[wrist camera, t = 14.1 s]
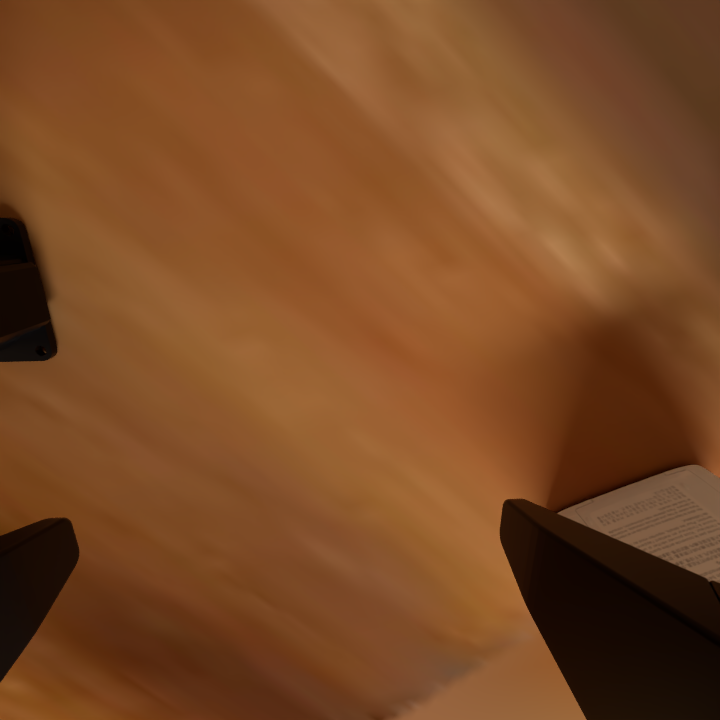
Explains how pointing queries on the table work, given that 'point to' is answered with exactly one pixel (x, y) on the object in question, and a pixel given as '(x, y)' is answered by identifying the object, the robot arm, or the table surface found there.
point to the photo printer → (663, 517)
